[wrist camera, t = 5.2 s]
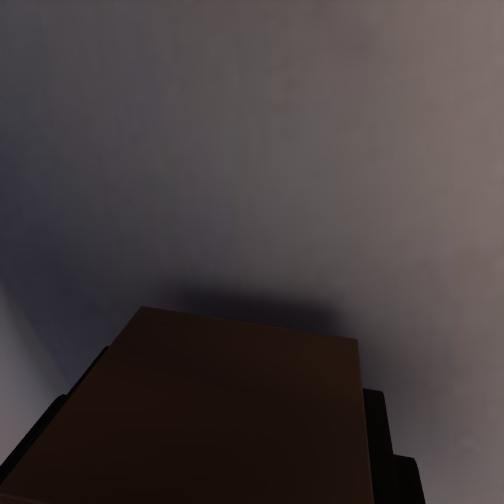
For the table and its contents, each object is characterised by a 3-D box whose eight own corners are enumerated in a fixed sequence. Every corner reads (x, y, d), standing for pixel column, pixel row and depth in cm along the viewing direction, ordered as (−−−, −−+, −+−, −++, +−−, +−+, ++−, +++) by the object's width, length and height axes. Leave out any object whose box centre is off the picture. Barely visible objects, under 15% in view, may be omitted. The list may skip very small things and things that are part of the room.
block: (144, 461, 12) (36, 693, 8) (140, 305, 10) (-8, 493, 6) (326, 496, 12) (322, 769, 7) (358, 338, 10) (381, 578, 5)
